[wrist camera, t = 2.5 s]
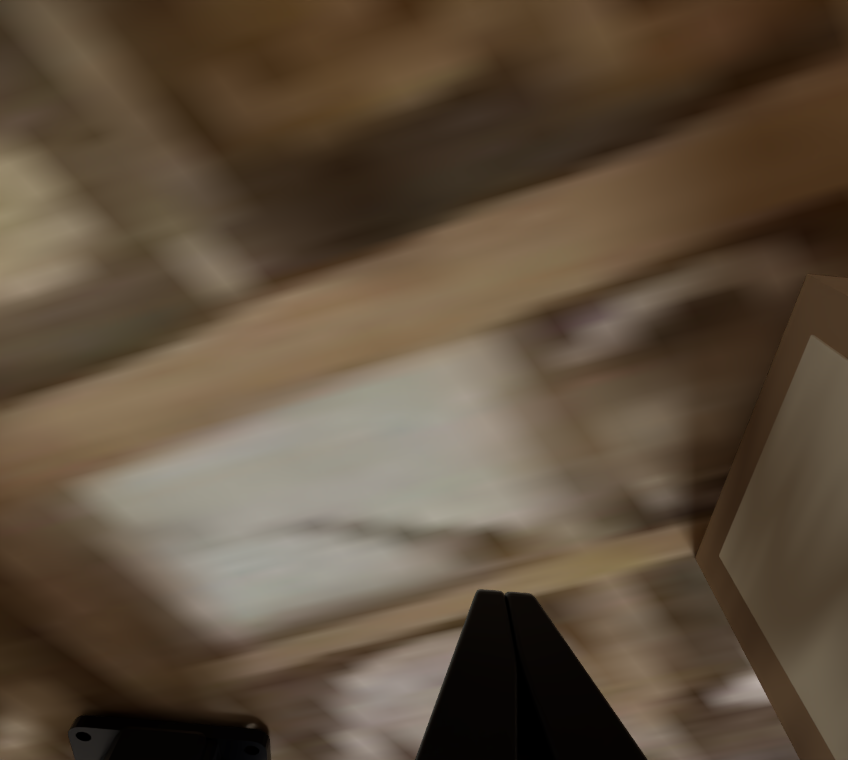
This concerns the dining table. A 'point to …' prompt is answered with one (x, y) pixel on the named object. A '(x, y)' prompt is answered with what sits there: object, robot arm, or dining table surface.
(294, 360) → the dining table surface
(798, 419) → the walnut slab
